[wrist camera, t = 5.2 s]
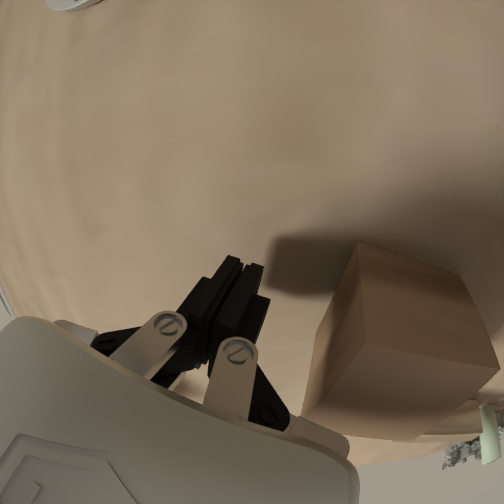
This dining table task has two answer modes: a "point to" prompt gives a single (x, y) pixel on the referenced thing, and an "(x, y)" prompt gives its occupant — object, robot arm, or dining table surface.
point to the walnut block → (395, 349)
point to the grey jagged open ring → (468, 447)
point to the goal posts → (489, 435)
